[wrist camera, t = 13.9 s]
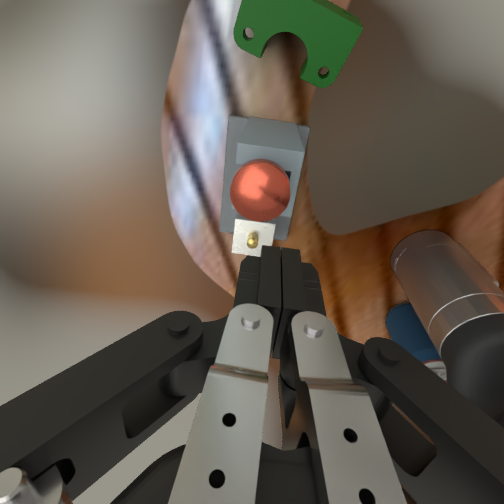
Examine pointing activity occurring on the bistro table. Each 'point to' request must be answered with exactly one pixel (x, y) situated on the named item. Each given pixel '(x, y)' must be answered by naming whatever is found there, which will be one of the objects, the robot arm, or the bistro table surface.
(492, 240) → the bistro table surface
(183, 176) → the bistro table surface
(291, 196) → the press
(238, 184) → the disc
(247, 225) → the block
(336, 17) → the clamp
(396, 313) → the soda can
